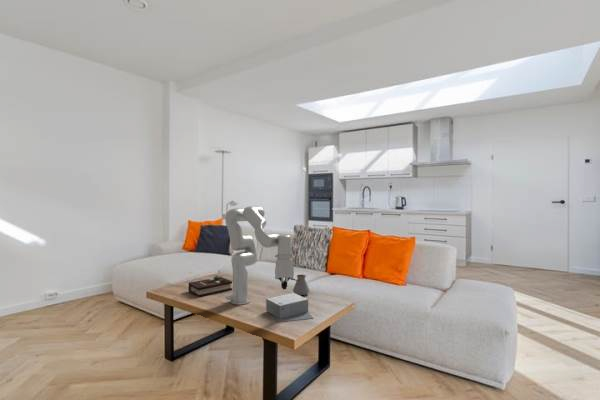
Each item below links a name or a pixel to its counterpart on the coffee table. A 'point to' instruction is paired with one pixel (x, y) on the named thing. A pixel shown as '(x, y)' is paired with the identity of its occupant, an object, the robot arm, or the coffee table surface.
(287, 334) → the coffee table surface
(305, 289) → the coffee pot
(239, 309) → the coffee table surface
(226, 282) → the decorative book
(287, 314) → the hard drive box
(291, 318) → the mat
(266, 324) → the coffee table surface
